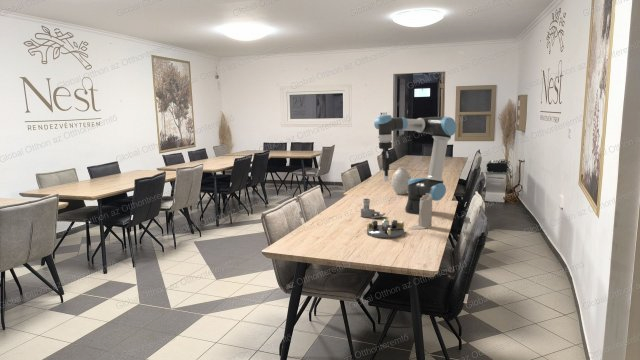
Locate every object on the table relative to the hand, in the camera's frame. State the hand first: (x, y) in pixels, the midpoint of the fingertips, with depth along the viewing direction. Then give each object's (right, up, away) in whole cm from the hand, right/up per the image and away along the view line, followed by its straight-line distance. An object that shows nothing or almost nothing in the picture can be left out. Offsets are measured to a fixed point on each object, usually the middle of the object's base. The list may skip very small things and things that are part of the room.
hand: (386, 181), depth 251 cm
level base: (-2, -30, -12) cm, 32 cm away
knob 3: (+5, -27, -11) cm, 29 cm away
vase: (+28, -11, +97) cm, 101 cm away
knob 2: (-2, -29, -21) cm, 36 cm away
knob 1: (-10, -27, -11) cm, 31 cm away
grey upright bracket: (+20, -28, -2) cm, 34 cm away
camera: (-5, -24, +23) cm, 34 cm away
